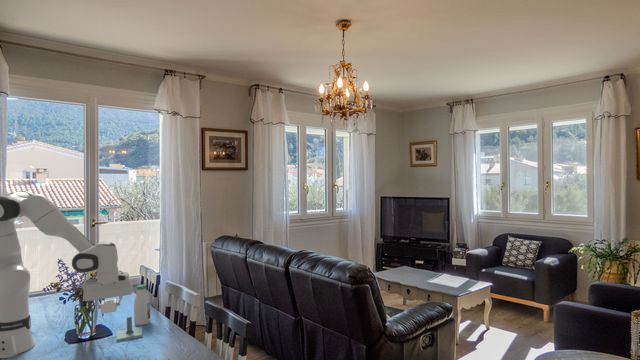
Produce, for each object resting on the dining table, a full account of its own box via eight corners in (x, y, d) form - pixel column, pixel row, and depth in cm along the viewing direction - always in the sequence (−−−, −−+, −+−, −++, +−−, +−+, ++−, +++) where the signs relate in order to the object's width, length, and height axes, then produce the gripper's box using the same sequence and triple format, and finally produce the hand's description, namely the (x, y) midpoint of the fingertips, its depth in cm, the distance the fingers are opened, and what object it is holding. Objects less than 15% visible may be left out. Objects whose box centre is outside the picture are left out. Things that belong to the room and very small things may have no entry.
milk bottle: (144, 326, 205) (143, 287, 204) (131, 325, 206) (129, 287, 206) (153, 320, 212) (152, 283, 212) (140, 320, 214) (139, 283, 213)
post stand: (116, 341, 187) (115, 323, 186) (117, 333, 197) (116, 315, 196) (142, 337, 191) (141, 319, 191) (141, 329, 201) (141, 311, 201)
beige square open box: (101, 313, 179) (100, 305, 179) (102, 309, 185) (101, 301, 185) (116, 311, 182) (116, 302, 182) (117, 307, 188) (116, 298, 187)
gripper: (80, 282, 176) (82, 313, 176) (131, 275, 184) (133, 305, 185) (82, 278, 182) (84, 308, 182) (132, 272, 190) (133, 301, 190)
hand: (109, 307), depth 183 cm, fingers closed on beige square open box, 6 cm apart
